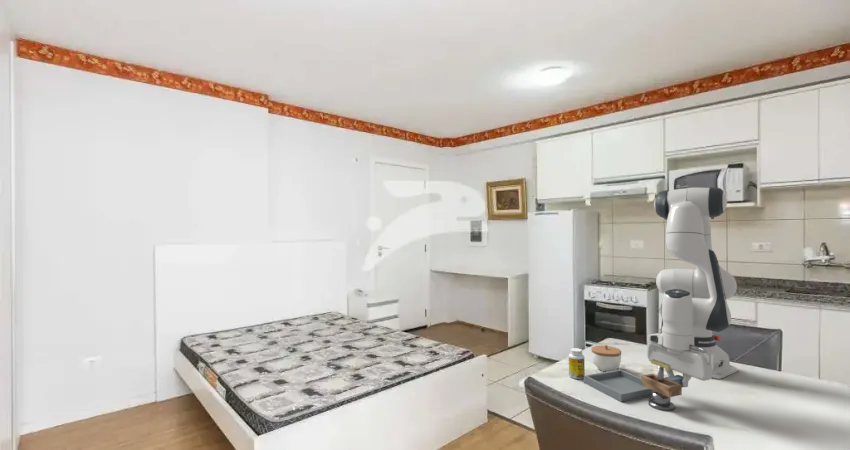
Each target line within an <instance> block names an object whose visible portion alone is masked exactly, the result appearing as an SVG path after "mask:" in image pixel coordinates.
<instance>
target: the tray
mask: <svg viewBox="0 0 850 450" xmlns="http://www.w3.org/2000/svg"><path fill="white" fill-rule="evenodd" d="M583 384H585V385H588V387H591V388H593V389H595V390H597V391H599V392H601V393H603V394H605V395H606V396H609V397H611V398H613V399H614V400H616V401H618V402H620V403H624V402H628V401H634V400H638V399H643V398H647V397H652V391H653V390H651V389H649V388H647V387H644V386H642V385H641V376H640V377H639V376H637V375H635V374H632V373H630V372H628V371H626V370H623V369H615V370H614V371H608V372H605V371H602V372H598V373H593V374H586V375H585V376H584V378H583Z"/></svg>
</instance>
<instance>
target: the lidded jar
mask: <svg viewBox="0 0 850 450" xmlns="http://www.w3.org/2000/svg"><path fill="white" fill-rule="evenodd" d="M590 349H591V359H592V362H593V364H594V365H595V367H596V368H597V369H598V370H599V371H601V372H605V371H606V372H608V371H614V370H618V368H619V367H620V365H621V362H622V361H621V360H622V350H621V349H619V348H617V347H614V346H610V345H608V344H604V345H595V346H592V347H591V348H590Z"/></svg>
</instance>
